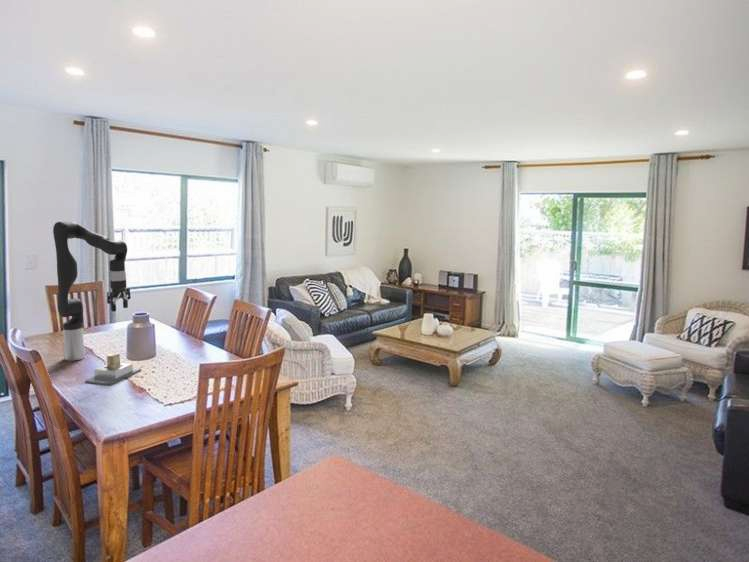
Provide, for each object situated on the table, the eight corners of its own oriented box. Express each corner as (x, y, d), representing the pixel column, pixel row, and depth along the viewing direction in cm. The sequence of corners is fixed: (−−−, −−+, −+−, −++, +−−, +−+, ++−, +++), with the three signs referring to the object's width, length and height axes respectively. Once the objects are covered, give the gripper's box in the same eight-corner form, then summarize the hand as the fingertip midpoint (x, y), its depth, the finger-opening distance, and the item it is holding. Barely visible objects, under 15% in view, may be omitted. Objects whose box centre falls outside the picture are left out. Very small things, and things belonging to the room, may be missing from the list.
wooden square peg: (107, 375, 246) (106, 355, 245) (113, 372, 250) (112, 353, 249) (114, 375, 246) (113, 356, 244) (120, 373, 250) (119, 354, 248)
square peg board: (85, 382, 239) (84, 372, 238) (117, 367, 260) (117, 358, 259) (110, 385, 236) (109, 375, 235) (141, 370, 257) (140, 361, 256)
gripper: (121, 276, 265) (123, 306, 268) (101, 280, 252) (103, 311, 254) (133, 277, 264) (135, 307, 266) (114, 281, 250) (116, 313, 253)
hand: (119, 309), depth 260 cm, fingers open, 8 cm apart
